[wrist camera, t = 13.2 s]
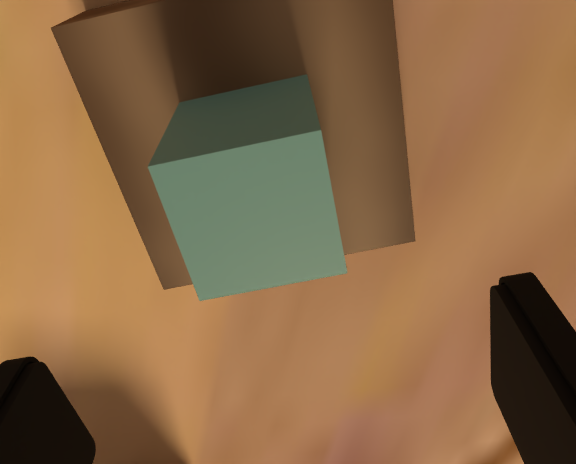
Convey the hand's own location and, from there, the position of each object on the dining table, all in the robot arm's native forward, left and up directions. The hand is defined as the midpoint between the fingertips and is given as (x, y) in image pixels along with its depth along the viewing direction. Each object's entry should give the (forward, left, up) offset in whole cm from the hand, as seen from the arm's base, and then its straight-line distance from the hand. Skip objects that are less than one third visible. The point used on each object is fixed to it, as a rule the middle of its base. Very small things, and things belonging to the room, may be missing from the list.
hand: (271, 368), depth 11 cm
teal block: (0, 0, -12) cm, 12 cm away
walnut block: (+1, 0, -16) cm, 16 cm away
